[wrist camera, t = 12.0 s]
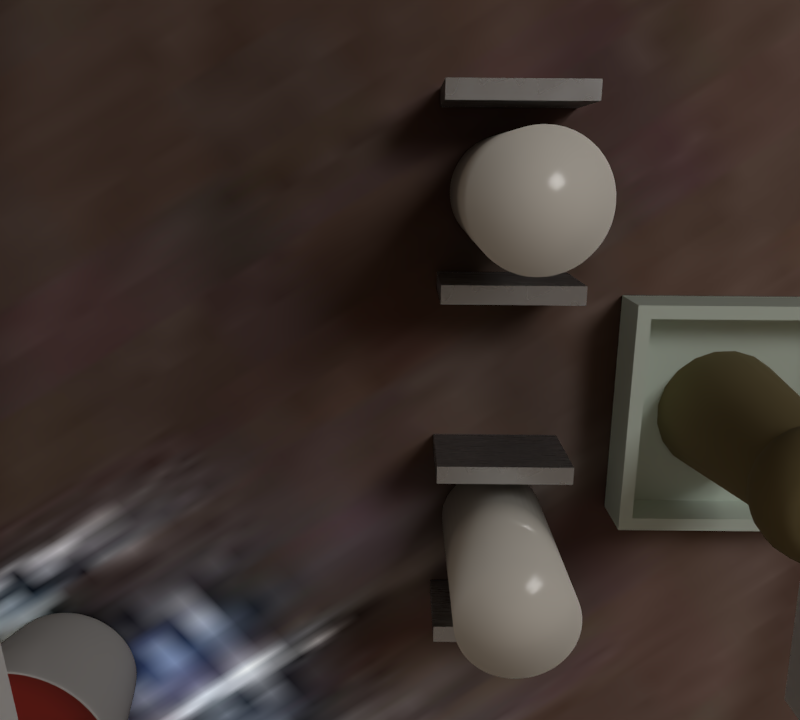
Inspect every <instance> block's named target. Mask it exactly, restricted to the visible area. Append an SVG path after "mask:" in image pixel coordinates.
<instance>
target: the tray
mask: <svg viewBox="0 0 800 720" xmlns="http://www.w3.org/2000/svg"><path fill="white" fill-rule="evenodd" d="M722 351H737V352H740V353H744V354H747V355H751V356H754V357H756V358H757V359H758V360H760V361H761V362H763V363H764V364H765V365H767V366H768V367H770V368H771V369H772V370H773V371H774V372H775V373H776V374H777V375H778V376H779V377H780V378H781V379H782V380H783V381H784V382H785V383H786V384H788V385H789V386H790V387H791V388H792V389H793V390H794V391H795V392H796V393H797V394H798V395H799V396H800V297H744V296H625V295H622V305H621V317H620V328H619V340H618V352H617V364H616V375H615V387H614V399H613V411H612V422H611V434H610V446H609V458H608V469H607V481H606V493H605V505H604V507H605V508H606V510H607V512H608V513H609V515H610V517H611V518H612V520H613V522H614V524H615V525H616V527H617V529H618V530H674V531H760V530H759V529H758V528H757V526H756V525H755V523H754V521H753V519H752V516H751V513H750V509H749V506H748V504H746V503H745V502H743V501H742V500H740V499H739V498H737V497H736V496H734V495H733V494H731V493H730V492H728V491H726V490H725V489H723V488H722V487H720V486H719V485H717V484H716V483H714V482H713V481H711V480H710V479H708V478H707V477H705V476H703V475H702V474H700V473H699V472H697V471H696V470H694V469H693V468H691V467H690V466H688V465H687V464H685V463H684V462H682V461H681V460H679V459H678V458H676V457H675V456H673V455H672V453H671V452H670V451H669V449H668V448H667V447H666V445H665V444H664V443H663V441H662V439H661V435H660V432H659V428H658V425H657V415H658V404H659V401H660V398H661V396H662V393H663V391H664V388H665V386H666V385H667V384H668V382H669V381H670V380H671V379H672V377H673V376H674V375H675V374H676V372H677V371H678V370H679V369H681V368H682V367H684V366H685V365H686V364H688V363H689V362H691V361H692V360H694V359H695V358H698V357H701V356H704V355H707V354H710V353H713V352H722Z"/></svg>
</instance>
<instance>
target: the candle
mask: <svg viewBox="0 0 800 720" xmlns="http://www.w3.org/2000/svg"><path fill="white" fill-rule="evenodd" d="M1 647H2V652H3V656H4V660H5V665H6V669H7V673H8V678H9V682H10V686H11V691H12V695H13V699H14V703H15V708H16V712H17V716H18V720H128V718H129V714H130V710H131V705H132V701H133V697H134V692H135V687H136V679H137V671H136V664H135V660H134V657H133V654H132V652H131V650H130V648H129V647H128V645H127V643H126V642H125V641H124V639H123V638H122V637H121V636H120V635H119V634H118V633H117V632H116V631H115V630H113V629H112V628H111V627H109V626H108V625H106V624H105V623H103V622H101V621H99V620H97V619H95V618H92V617H89V616H86V615H82V614H77V613H55V614H49V615H46V616H42V617H40V618H37V619H35V620H33V621H31V622H30V623H28V624H26V625H25V626H23V627H22V628H21V629H19V630H18V631H17V632H15V633H14V634H13V635H11V636H10V637H9V638H7V639H6V640H5V641H4V642H2V643H1Z"/></svg>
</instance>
